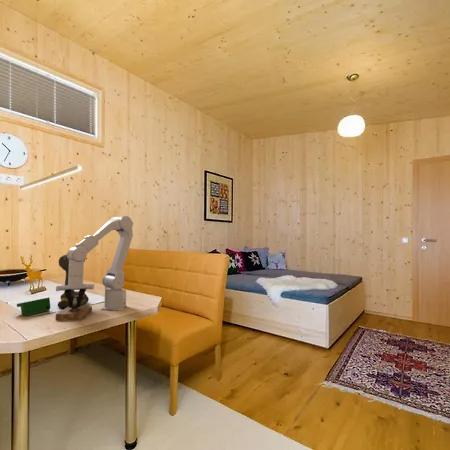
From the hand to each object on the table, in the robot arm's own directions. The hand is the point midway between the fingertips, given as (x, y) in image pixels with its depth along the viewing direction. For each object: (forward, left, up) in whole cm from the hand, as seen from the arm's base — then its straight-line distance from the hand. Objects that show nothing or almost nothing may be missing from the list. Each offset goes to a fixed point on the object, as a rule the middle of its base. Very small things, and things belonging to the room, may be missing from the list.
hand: (74, 306), depth 126 cm
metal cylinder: (0, 0, -3) cm, 3 cm away
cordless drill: (+7, -19, -4) cm, 21 cm away
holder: (0, 0, -4) cm, 4 cm away
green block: (+20, -5, -4) cm, 21 cm away
